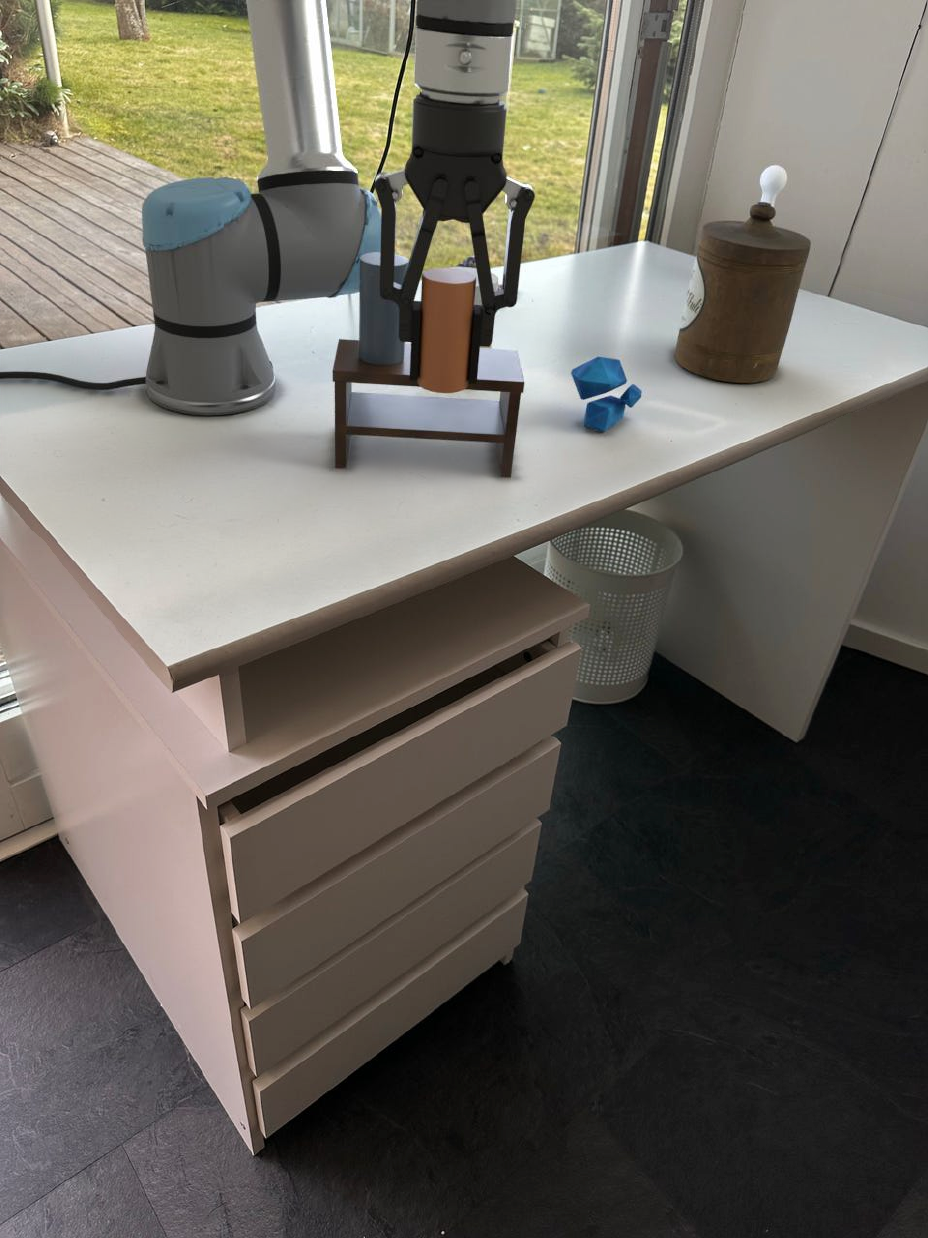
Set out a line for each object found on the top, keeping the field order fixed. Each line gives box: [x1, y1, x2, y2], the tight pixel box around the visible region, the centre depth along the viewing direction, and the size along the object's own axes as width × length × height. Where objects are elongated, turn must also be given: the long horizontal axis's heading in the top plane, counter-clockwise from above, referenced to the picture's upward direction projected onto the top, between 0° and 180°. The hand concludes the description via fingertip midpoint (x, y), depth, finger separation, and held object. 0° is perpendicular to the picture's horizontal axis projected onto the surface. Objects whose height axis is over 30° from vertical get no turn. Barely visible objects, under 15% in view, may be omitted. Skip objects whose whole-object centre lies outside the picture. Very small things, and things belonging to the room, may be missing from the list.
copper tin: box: [417, 267, 476, 394], centre depth 84 cm, size 5×5×10 cm
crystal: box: [570, 356, 642, 433], centre depth 112 cm, size 7×9×12 cm
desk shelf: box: [332, 338, 525, 478], centre depth 100 cm, size 20×9×11 cm, turn 92°
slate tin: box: [358, 252, 409, 365], centre depth 94 cm, size 5×5×10 cm
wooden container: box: [673, 201, 812, 384], centre depth 128 cm, size 15×15×22 cm
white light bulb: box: [759, 164, 788, 222], centre depth 161 cm, size 11×8×20 cm
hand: (442, 376), depth 87 cm, fingers closed on copper tin, 5 cm apart
